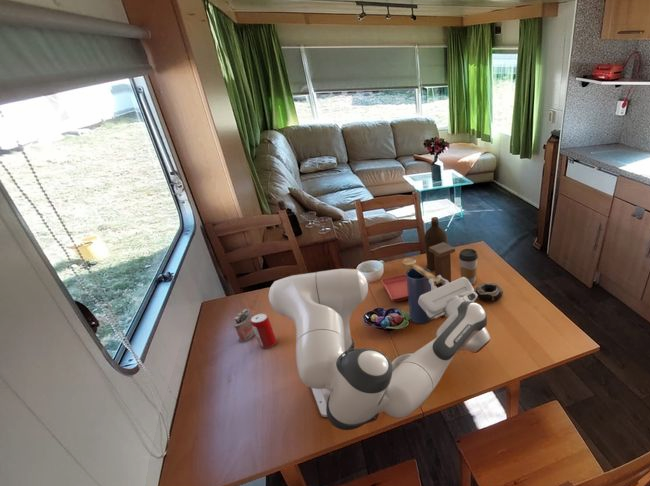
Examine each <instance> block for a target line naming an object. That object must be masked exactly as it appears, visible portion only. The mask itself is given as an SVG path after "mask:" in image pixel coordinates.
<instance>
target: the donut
mask: <svg viewBox="0 0 650 486" xmlns="http://www.w3.org/2000/svg"><path fill="white" fill-rule="evenodd" d="M474 292H476V293H477V295H478V296H477V299H479V300H480V301H482V302H486V303H487V302H488V303H492V302H496V301H498V300H500V299H501V298H502V297H503V293H504V292H503V288H502V287H501V286H500V285H499V284H497V283H494V282H483V283H481V284H478V286H477V287H476V288H475V290H474Z"/></svg>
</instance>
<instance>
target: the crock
mask: <svg viewBox="0 0 650 486" xmlns="http://www.w3.org/2000/svg"><path fill="white" fill-rule="evenodd" d="M420 267H421V266H420ZM421 268H423V269H424V270H426V271H428V272H429V273H431V270H430V269H428V268H427V267H423V266H422V267H421ZM405 274H406V282H407V292H408V299H407V300H408V301H407V302H408V311H409V319H410V321H411V322H413V323H415V324H421V325H422V324H426V323H429V322H431V321H432V319H431V318H429V317H428V316H427V314H426V312H425V311H424V310H423V309H422V308H421V307H420V305H419V304H418V299H419V297H420V296H421V295H423V294H425V293H427V292H429V291H431V284H430V283H429V279H428V278H427V277H425V276H424V275H422V274H421V273H419V272H418V271H416V270H415V269H413V268H412V267H411V268H410V269H408V270H406V272H405ZM410 317H411V318H410Z"/></svg>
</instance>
